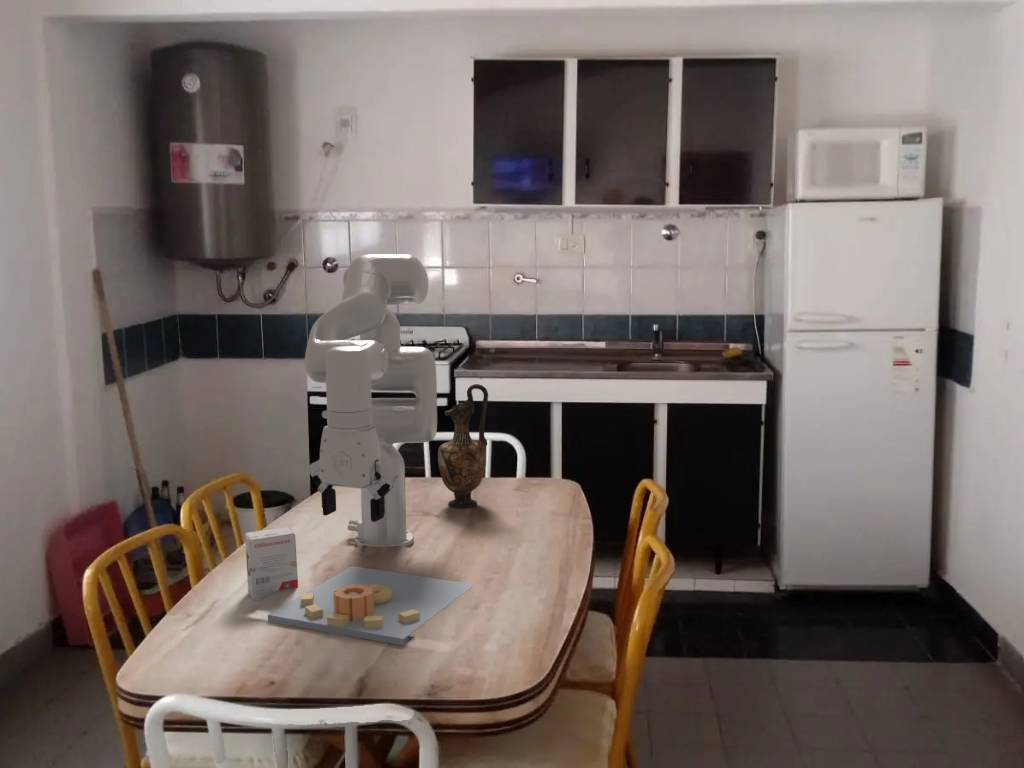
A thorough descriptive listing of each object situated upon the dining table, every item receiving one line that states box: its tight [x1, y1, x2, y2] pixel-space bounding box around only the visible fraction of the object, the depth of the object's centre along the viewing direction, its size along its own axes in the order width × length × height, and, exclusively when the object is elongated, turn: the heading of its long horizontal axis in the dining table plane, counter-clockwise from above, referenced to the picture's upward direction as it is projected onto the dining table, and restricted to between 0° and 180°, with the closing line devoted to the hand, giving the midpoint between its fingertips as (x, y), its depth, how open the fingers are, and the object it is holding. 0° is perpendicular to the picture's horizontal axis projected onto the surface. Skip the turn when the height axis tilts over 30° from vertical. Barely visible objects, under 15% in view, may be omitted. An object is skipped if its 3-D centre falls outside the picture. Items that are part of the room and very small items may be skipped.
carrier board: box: [267, 565, 475, 647], centre depth 181 cm, size 27×27×5 cm
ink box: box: [244, 526, 299, 601], centre depth 187 cm, size 9×5×12 cm, turn 116°
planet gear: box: [334, 584, 374, 621], centre depth 174 cm, size 7×7×4 cm
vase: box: [437, 383, 489, 509], centre depth 243 cm, size 12×12×30 cm
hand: (353, 516), depth 173 cm, fingers open, 9 cm apart
